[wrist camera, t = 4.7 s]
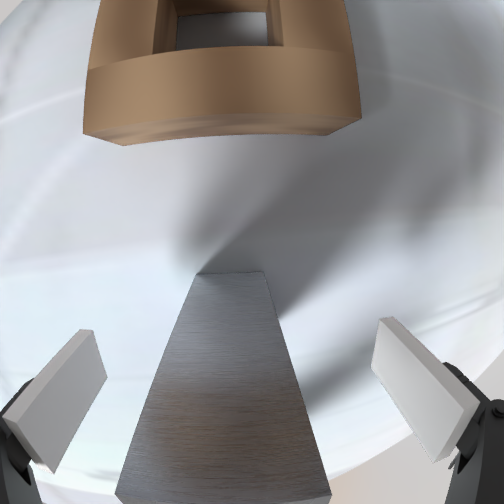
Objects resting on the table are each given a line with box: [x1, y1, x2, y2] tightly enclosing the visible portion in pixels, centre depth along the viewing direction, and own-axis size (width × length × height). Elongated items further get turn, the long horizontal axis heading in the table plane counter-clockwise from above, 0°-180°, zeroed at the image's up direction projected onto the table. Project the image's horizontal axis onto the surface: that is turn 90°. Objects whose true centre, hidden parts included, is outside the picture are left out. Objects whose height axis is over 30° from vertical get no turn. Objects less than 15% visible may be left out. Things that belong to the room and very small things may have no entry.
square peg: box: [115, 272, 332, 504], centre depth 11 cm, size 4×4×14 cm
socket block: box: [83, 0, 362, 146], centre depth 11 cm, size 12×12×5 cm
